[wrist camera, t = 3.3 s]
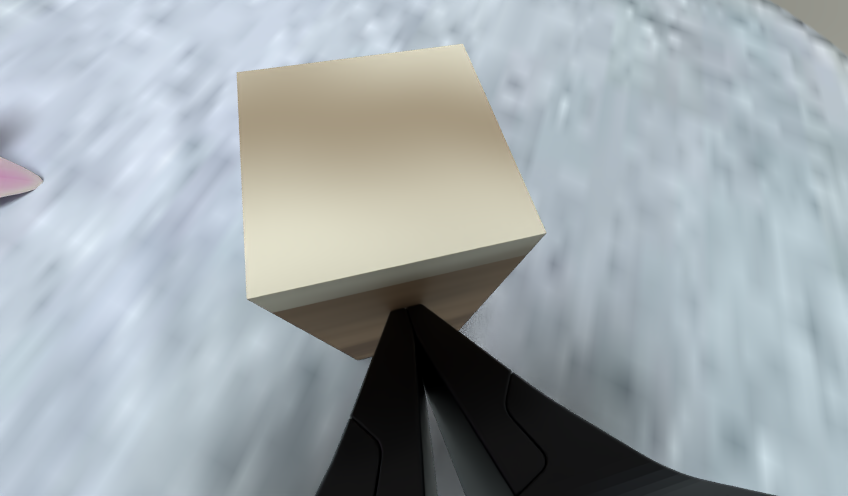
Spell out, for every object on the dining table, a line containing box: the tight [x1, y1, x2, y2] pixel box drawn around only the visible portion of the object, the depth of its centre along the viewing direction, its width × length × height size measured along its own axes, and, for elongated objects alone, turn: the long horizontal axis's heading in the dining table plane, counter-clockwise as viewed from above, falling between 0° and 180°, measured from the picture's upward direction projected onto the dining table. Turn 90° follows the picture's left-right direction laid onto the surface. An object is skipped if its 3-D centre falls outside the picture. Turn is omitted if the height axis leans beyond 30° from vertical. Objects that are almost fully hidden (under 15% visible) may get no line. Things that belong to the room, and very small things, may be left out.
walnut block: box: [237, 44, 546, 360], centre depth 12 cm, size 5×5×12 cm
